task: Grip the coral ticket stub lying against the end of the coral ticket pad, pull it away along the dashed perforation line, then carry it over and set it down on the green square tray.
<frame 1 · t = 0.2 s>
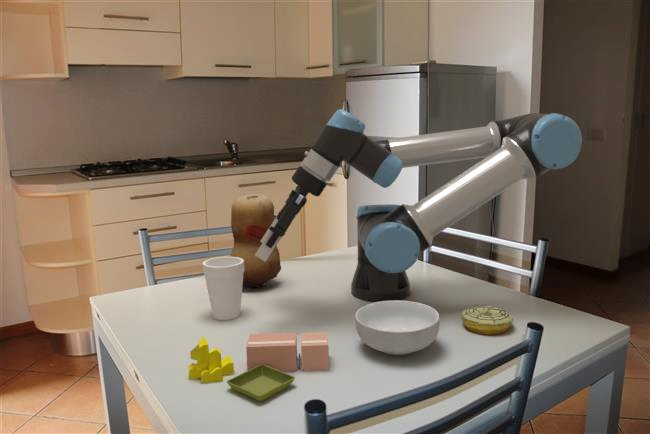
hand: (262, 250, 131), 16 cm above the table, tool tilted 35°, fingers open, 13 cm apart
foam cup: (226, 316, 134), on the table
decorated donut: (486, 328, 124), on the table
cereal bowl: (396, 348, 115), on the table
green square tray: (261, 391, 99), on the table
stub: (315, 363, 108), on the table
ticket pad: (273, 364, 108), on the table
butternut squash: (255, 286, 156), on the table
yellow faceted figurine: (211, 376, 105), on the table
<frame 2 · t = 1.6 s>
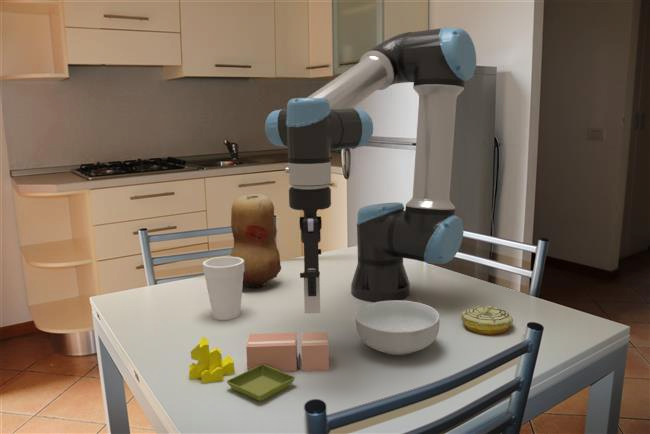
hand: (312, 299, 106), 13 cm above the table, tool pointing down, fingers open, 13 cm apart
nothing on the table moved.
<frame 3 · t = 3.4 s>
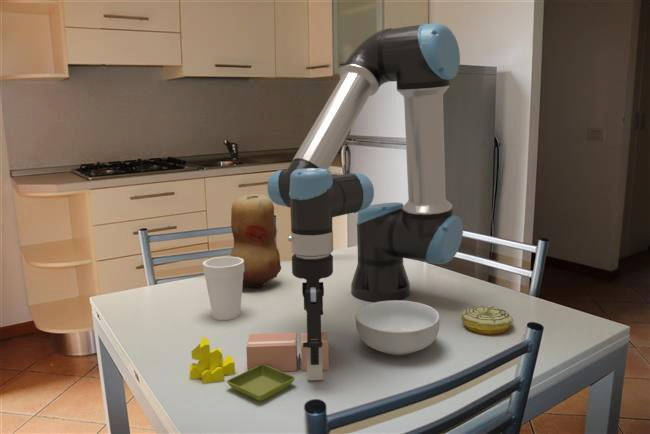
hand: (314, 362, 108), 0 cm above the table, tool pointing down, fingers open, 13 cm apart
nothing on the table moved.
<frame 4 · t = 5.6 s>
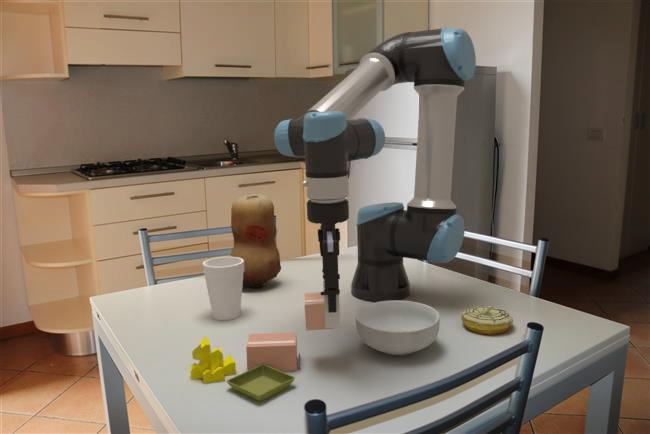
hand: (331, 319, 107), 8 cm above the table, tool pointing down, fingers closed on stub, 6 cm apart
stub: (319, 323, 107), point 8 cm above the table, touching gripper
everything else where it was.
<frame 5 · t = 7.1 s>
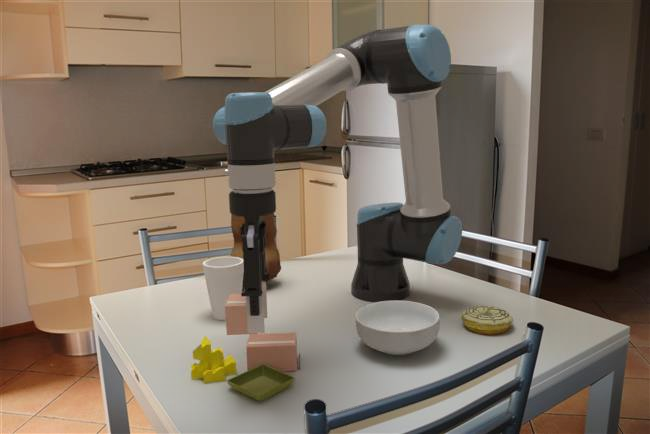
hand: (257, 324, 97), 12 cm above the table, tool pointing down, fingers closed on stub, 6 cm apart
stub: (244, 327, 97), point 11 cm above the table, touching gripper
everything else where it was.
when the fingers open (2 cm above the table, at t = 9.2 s): stub stays where it is, resting on green square tray.
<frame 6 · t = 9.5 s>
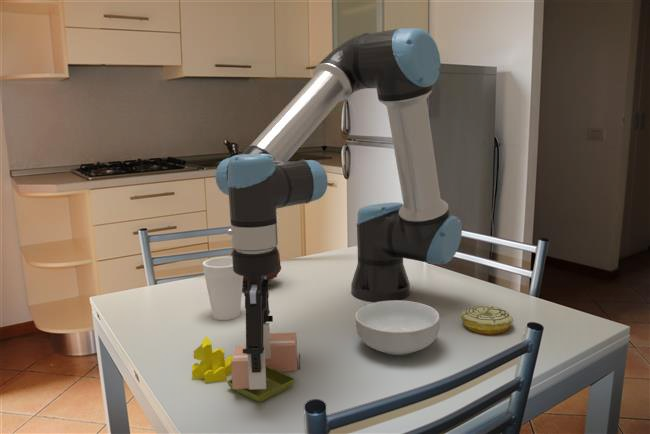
hand: (260, 372, 99), 3 cm above the table, tool pointing down, fingers open, 11 cm apart
green square tray: (261, 391, 99), on the table, touching stub
stub: (249, 380, 99), point 2 cm above the table, touching green square tray
everything else where it was.
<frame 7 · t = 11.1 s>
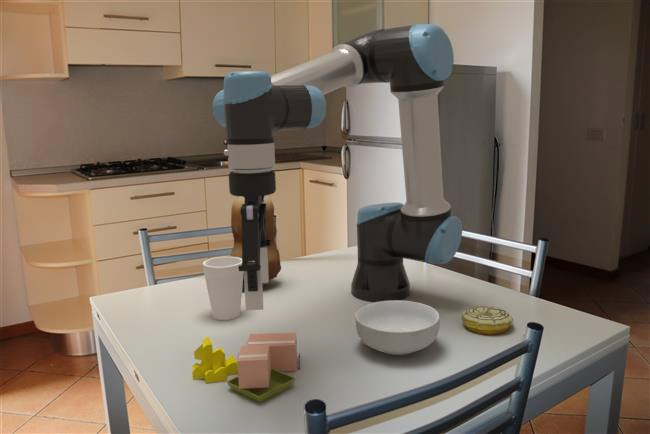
hand: (258, 295, 96), 17 cm above the table, tool pointing down, fingers open, 13 cm apart
stub: (255, 379, 99), point 2 cm above the table, touching green square tray
everything else where it was.
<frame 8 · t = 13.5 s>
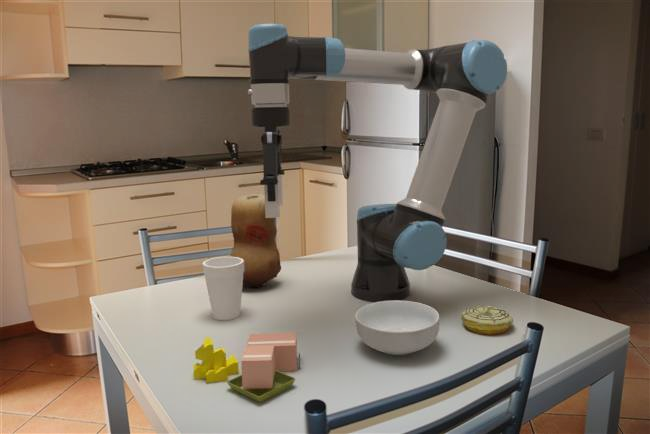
hand: (274, 211, 118), 27 cm above the table, tool pointing down, fingers open, 13 cm apart
nothing on the table moved.
at the end: stub 0.4 cm from the green square tray (horizontally); stub point 1.5 cm above the table; the gripper is holding nothing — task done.
